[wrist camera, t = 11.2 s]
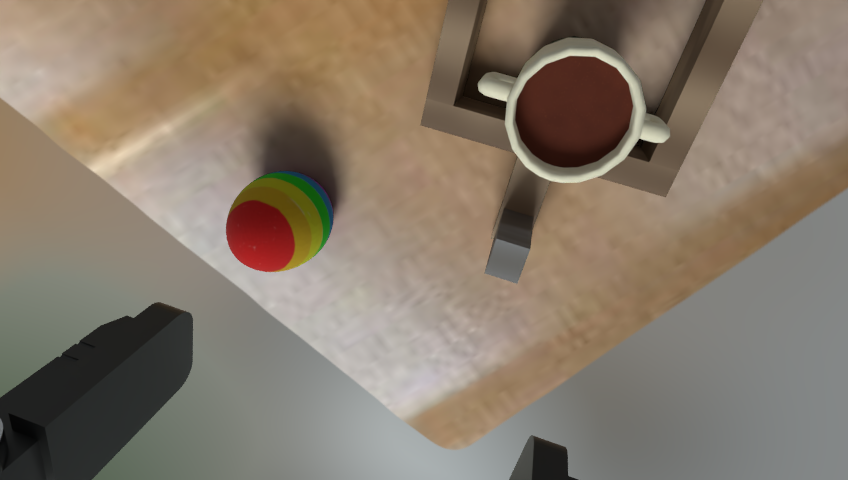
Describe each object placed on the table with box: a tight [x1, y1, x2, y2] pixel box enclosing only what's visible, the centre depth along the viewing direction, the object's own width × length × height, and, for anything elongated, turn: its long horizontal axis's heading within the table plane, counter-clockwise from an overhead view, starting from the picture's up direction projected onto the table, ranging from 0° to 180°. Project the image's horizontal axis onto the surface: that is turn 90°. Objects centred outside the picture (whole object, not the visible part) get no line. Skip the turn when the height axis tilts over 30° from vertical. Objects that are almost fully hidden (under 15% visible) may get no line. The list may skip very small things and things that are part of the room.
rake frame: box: [421, 0, 763, 283], centre depth 35 cm, size 26×18×7 cm
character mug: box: [478, 36, 670, 183], centre depth 32 cm, size 11×7×13 cm, turn 77°
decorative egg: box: [226, 171, 333, 272], centre depth 43 cm, size 8×8×10 cm
